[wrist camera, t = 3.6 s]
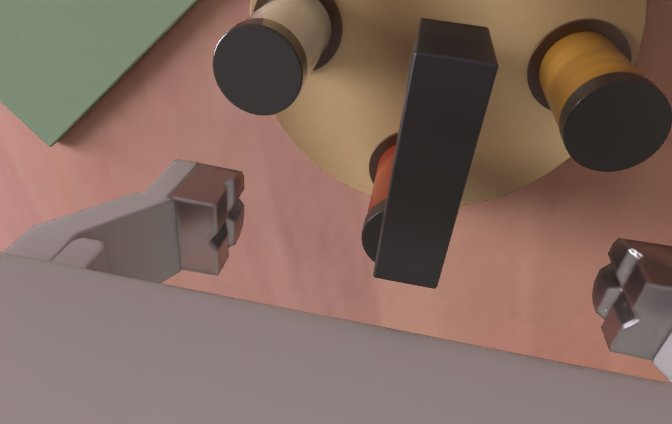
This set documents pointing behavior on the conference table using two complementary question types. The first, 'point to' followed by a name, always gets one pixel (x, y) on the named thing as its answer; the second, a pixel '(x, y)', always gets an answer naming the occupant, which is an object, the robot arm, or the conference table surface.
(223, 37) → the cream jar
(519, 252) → the conference table surface
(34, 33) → the sage mat
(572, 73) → the spice carousel
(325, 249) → the conference table surface
